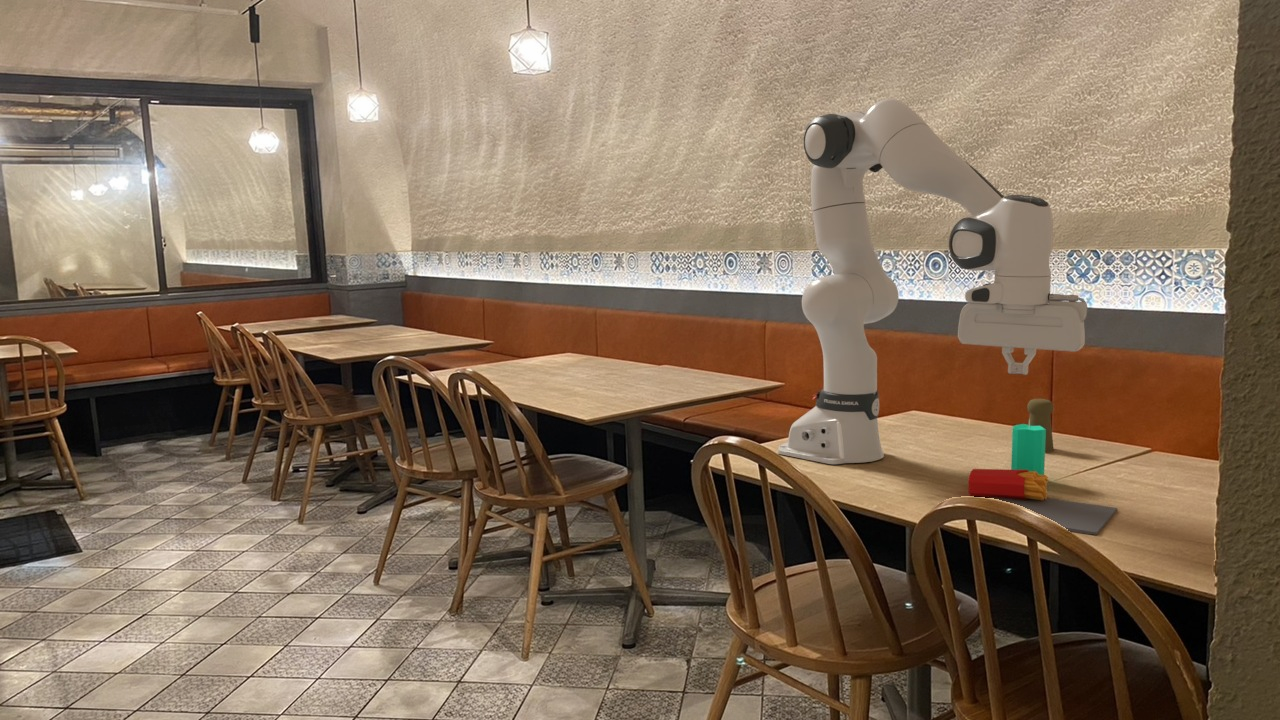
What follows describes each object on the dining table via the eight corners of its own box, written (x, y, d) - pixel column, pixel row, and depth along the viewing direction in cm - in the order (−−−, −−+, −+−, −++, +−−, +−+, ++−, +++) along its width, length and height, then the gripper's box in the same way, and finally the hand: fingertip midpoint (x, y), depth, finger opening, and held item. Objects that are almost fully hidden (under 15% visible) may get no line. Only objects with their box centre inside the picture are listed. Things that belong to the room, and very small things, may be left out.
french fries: (974, 465, 185) (1049, 467, 179) (975, 487, 186) (1050, 490, 180) (966, 477, 177) (1044, 480, 171) (967, 500, 178) (1045, 504, 172)
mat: (970, 515, 169) (970, 512, 169) (997, 493, 181) (998, 491, 181) (1096, 535, 157) (1096, 532, 157) (1117, 510, 170) (1117, 507, 170)
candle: (1040, 486, 186) (1043, 423, 184) (1007, 482, 189) (1009, 420, 187) (1046, 479, 191) (1049, 418, 189) (1014, 475, 194) (1016, 415, 192)
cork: (1058, 452, 212) (1060, 401, 211) (1029, 452, 212) (1031, 402, 211) (1047, 445, 218) (1049, 396, 217) (1019, 446, 218) (1021, 397, 217)
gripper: (1092, 293, 163) (1087, 376, 165) (967, 289, 175) (964, 366, 177) (1083, 296, 158) (1078, 382, 160) (956, 291, 170) (953, 371, 172)
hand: (1017, 373), depth 169 cm, fingers closed
